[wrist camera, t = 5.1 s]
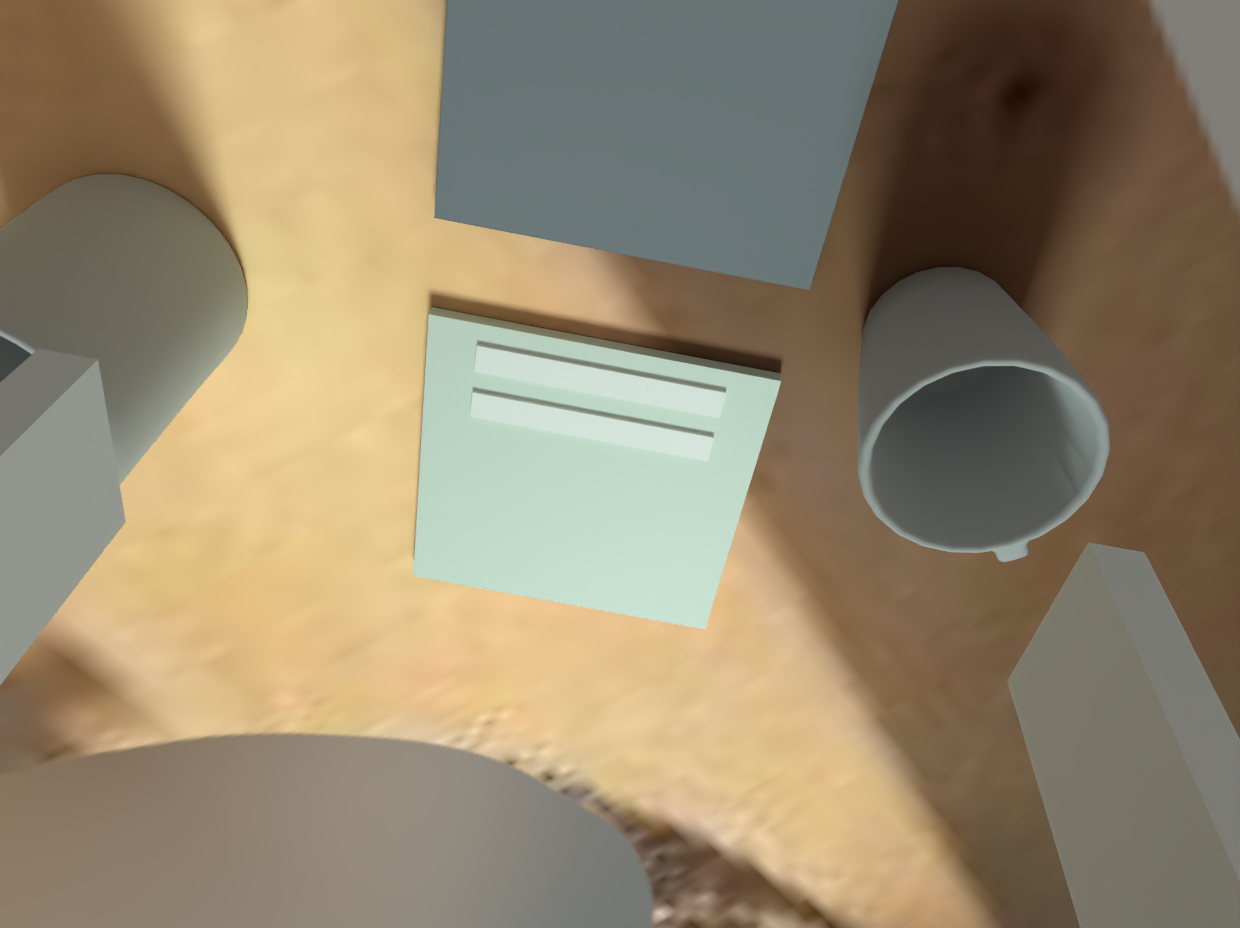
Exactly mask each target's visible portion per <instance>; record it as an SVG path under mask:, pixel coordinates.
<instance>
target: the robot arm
mask: <svg viewBox="0 0 1240 928" xmlns="http://www.w3.org/2000/svg"><path fill="white" fill-rule="evenodd" d="M125 522H126V521H125V515H124V509H123V504H122V498H121V492H120V486H119V480H118V474H117V468H116V462H115V456H114V451H113V445H112V439H111V433H110V427H109V421H108V415H107V409H106V403H105V398H104V392H103V386H102V380H101V374H100V368H99V362H98V359H93V358H87V357H82V356H76V355H71V354H66V353H60V352H55V351H49V350H44V349H38V350H36V351H35V352H34V353H33V354H32V355H31V356H30V357H29V358H27V359H26V360H25V361H24V362H23V363H22V364H21V365H20V366H18V367H17V368H16V369H15V370H14V371H13V372H12V373H11V374H9V375H8V376H7V377H6V378H5V379H4V380H3V381H2V382H0V685H1V683H2V682H3V681H4V680H5V678H6V677H7V676H8V674H9V673H10V672H11V670H12V669H13V668H14V667H15V665H16V664H17V663H18V661H19V660H20V659H21V657H22V656H23V655H24V653H25V652H26V651H27V650H28V648H29V647H30V646H31V644H32V643H33V642H34V640H35V639H36V638H37V637H38V635H39V634H40V633H41V631H42V630H43V629H44V627H45V626H46V625H47V623H48V622H49V621H50V620H51V618H52V617H53V616H54V614H55V613H56V612H57V610H58V609H59V608H60V607H61V605H62V604H63V603H64V601H65V600H66V599H67V597H68V596H69V595H70V594H71V592H72V591H73V590H74V588H75V587H76V586H77V584H78V583H79V582H80V580H81V579H82V578H83V577H84V575H85V574H86V573H87V571H88V570H89V569H90V567H91V566H92V565H93V564H94V562H95V561H96V560H97V558H98V557H99V556H100V554H101V553H102V552H103V550H104V549H105V548H106V547H107V545H108V544H109V543H110V541H111V540H112V539H113V537H114V536H115V535H116V534H117V532H118V531H119V530H120V528H121V527H122V526H123V524H124V523H125ZM1007 682H1008V685H1009V688H1010V692H1011V695H1012V699H1013V702H1014V705H1015V709H1016V712H1017V716H1018V719H1019V722H1020V726H1021V729H1022V732H1023V736H1024V739H1025V743H1026V746H1027V749H1028V753H1029V756H1030V760H1031V763H1032V766H1033V770H1034V773H1035V777H1036V780H1037V783H1038V787H1039V790H1040V793H1041V797H1042V800H1043V804H1044V807H1045V810H1046V814H1047V817H1048V821H1049V824H1050V827H1051V831H1052V834H1053V837H1054V841H1055V844H1056V848H1057V851H1058V854H1059V858H1060V861H1061V865H1062V868H1063V871H1064V875H1065V878H1066V882H1067V885H1068V888H1069V892H1070V895H1071V898H1072V902H1073V905H1074V909H1075V912H1076V915H1077V919H1078V922H1079V926H1080V928H1240V739H1239V737H1238V735H1237V733H1236V731H1235V729H1234V727H1233V725H1232V723H1231V721H1230V719H1229V717H1228V715H1227V713H1226V711H1225V709H1224V707H1223V706H1222V704H1221V702H1220V700H1219V698H1218V696H1217V694H1216V692H1215V690H1214V688H1213V686H1212V684H1211V682H1210V680H1209V678H1208V676H1207V674H1206V672H1205V670H1204V668H1203V666H1202V664H1201V662H1200V660H1199V658H1198V656H1197V655H1196V653H1195V651H1194V649H1193V647H1192V645H1191V643H1190V641H1189V639H1188V637H1187V635H1186V633H1185V631H1184V629H1183V627H1182V625H1181V623H1180V621H1179V619H1178V617H1177V615H1176V613H1175V611H1174V609H1173V607H1172V605H1171V604H1170V602H1169V600H1168V598H1167V596H1166V594H1165V592H1164V590H1163V588H1162V586H1161V584H1160V582H1159V580H1158V578H1157V576H1156V574H1155V572H1154V570H1153V568H1152V566H1151V564H1150V562H1149V560H1148V558H1147V556H1146V554H1145V553H1143V552H1138V551H1133V550H1127V549H1122V548H1116V547H1111V546H1106V545H1100V544H1095V543H1089V542H1088V544H1087V546H1086V547H1085V549H1084V551H1083V552H1082V554H1081V556H1080V557H1079V559H1078V561H1077V563H1076V564H1075V566H1074V568H1073V569H1072V571H1071V573H1070V575H1069V576H1068V578H1067V580H1066V581H1065V583H1064V585H1063V587H1062V588H1061V590H1060V592H1059V593H1058V595H1057V597H1056V599H1055V600H1054V602H1053V604H1052V605H1051V607H1050V609H1049V611H1048V612H1047V614H1046V616H1045V617H1044V619H1043V621H1042V622H1041V624H1040V626H1039V628H1038V629H1037V631H1036V633H1035V634H1034V636H1033V638H1032V640H1031V641H1030V643H1029V645H1028V646H1027V648H1026V650H1025V652H1024V653H1023V655H1022V657H1021V658H1020V660H1019V662H1018V664H1017V665H1016V667H1015V669H1014V670H1013V672H1012V674H1011V676H1010V677H1009V679H1008V681H1007Z"/></svg>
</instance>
